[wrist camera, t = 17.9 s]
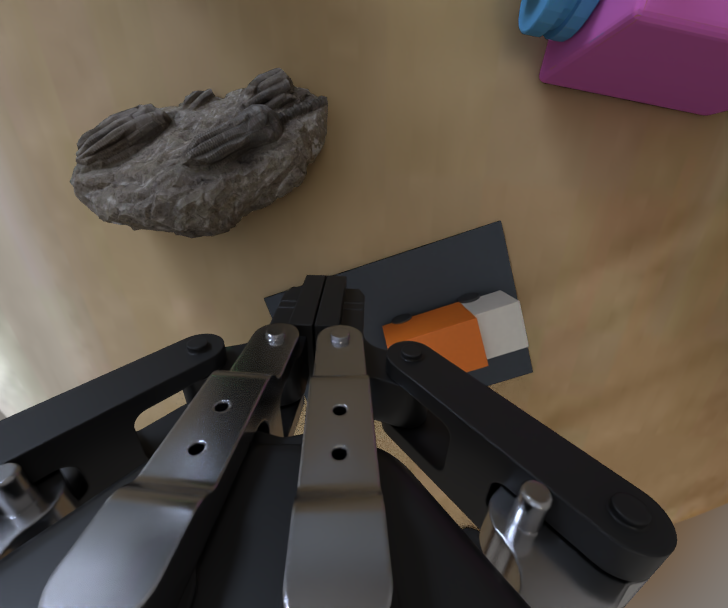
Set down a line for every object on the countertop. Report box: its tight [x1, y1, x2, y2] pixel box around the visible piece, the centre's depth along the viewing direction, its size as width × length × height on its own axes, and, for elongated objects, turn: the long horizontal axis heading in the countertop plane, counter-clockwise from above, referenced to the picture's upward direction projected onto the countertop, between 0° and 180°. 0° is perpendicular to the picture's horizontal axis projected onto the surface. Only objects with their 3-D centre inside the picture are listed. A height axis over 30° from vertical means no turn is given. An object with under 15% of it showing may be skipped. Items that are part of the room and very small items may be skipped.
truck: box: [382, 290, 529, 372], centre depth 36 cm, size 7×5×13 cm
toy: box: [519, 0, 728, 115], centre depth 25 cm, size 28×9×15 cm, turn 81°
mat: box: [264, 221, 533, 400], centre depth 39 cm, size 26×18×1 cm
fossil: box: [70, 68, 328, 238], centre depth 31 cm, size 22×10×15 cm
